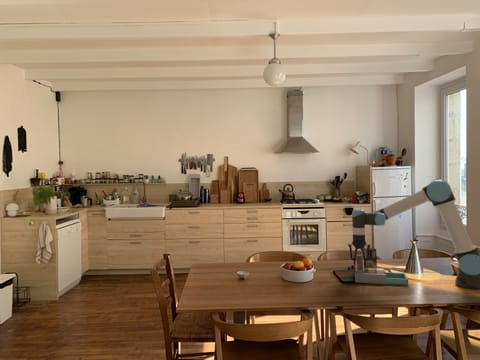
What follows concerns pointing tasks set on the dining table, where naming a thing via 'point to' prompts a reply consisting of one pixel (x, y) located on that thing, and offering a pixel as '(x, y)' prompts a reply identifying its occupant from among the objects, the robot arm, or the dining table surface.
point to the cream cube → (380, 271)
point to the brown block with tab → (359, 263)
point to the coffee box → (370, 258)
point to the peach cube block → (371, 270)
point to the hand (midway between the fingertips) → (359, 270)
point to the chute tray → (396, 278)
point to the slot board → (370, 277)
